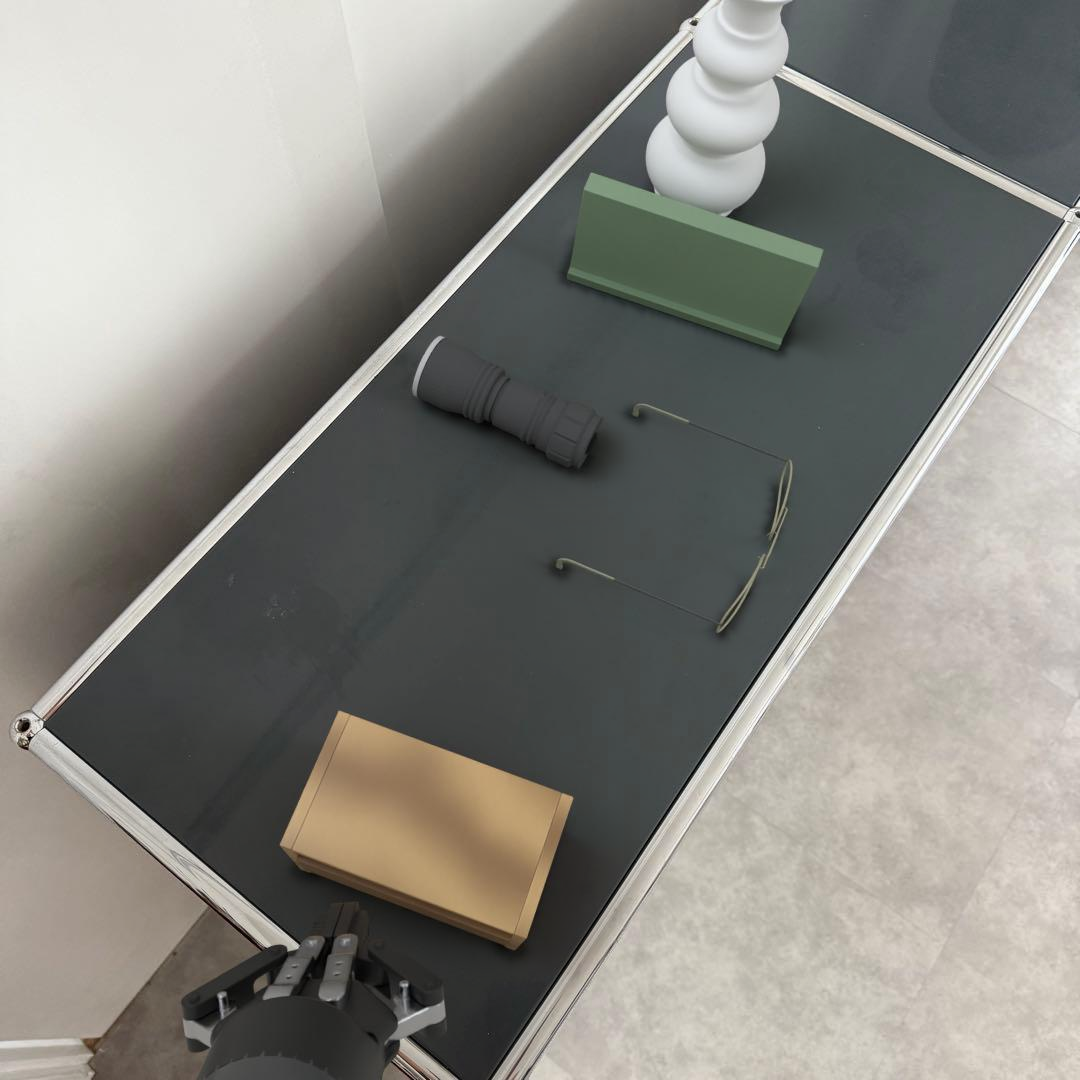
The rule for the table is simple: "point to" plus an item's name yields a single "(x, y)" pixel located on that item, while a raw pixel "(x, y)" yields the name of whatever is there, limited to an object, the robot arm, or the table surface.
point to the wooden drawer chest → (427, 830)
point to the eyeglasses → (635, 413)
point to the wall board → (690, 261)
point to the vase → (721, 108)
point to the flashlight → (505, 402)
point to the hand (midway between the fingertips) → (346, 918)
